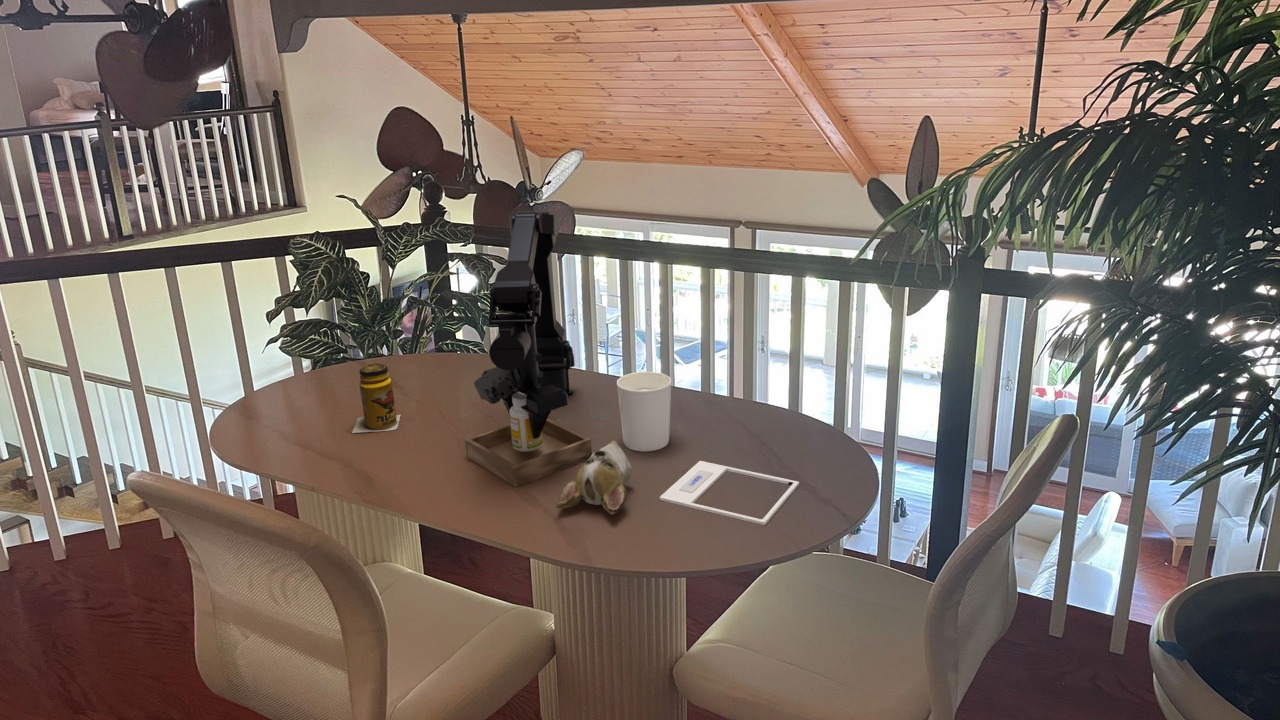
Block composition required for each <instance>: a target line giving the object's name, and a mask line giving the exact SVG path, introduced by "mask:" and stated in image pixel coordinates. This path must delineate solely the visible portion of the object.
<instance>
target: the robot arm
mask: <svg viewBox="0 0 1280 720" xmlns="http://www.w3.org/2000/svg"><path fill="white" fill-rule="evenodd" d="M559 228H560V227H559V219H558V216H556V215H555V214H552V212H551V211H550V210H548V211H547V210H546V211H542V210H541V211H517V212H515V213H512V215H510V216H509V231H510V236H511V237H510V244H509V248H508V255H507V259H506V262H505V263H506V264H505V266H503V267H502V268H500V270H498V271H497V273H496V275H495V279H494V282H493V284H492V285H491V286H490V294H489V309H488V310H489V311H488V325H489V326H494V325H495V326H498V327H497V328H498V332H497V335H496V336H495V338H494V339H493V341H492V343H491V345H490V347H489V351H488V353H489V358H490V360H491V362H492V364H493V365H495V367H493V368H489V369H485V370H484V371H483V372H482V374H481V376H480V377H478V378H477V379H476V380H475V381H474V382H473V386H474V387H475V389H476V391H477V393H478V396H479V397H480V399H481V400H485V401H486V402H488V403H489V404H492V405H494V404H497V403H498V402H500V401H502V402H503V404H504V407H505V408H506V411H507V414H508V416H509V417H510V408H511V407H512V406H513V403H512V395H513V394H515V393H517V392H518V393H520V394H522V395H527V397H526V404H527V405H524V406H521V408H522V409H523V410H525V411H526V412H527V413H528V416H529V421H530V426H531V431H532V435H533V438H534V439H536V438H539V437H540V434H541V432H542V430H543V427H544V425H545V423H546V420H547V418H548V419H549V415H550V414H551V411H554V410H556V409H559V408H562V407H563V408H564V407H566V406H568V404H569V397H568V396H571V395H573V394H575V391H574V390H573V389H571V388H570V378H569V370H571V368H574V367H575V355H574V351H573V347H572V346H571V344H570V341H569V340H567V335H566V334H567V333H566V329H565V328H564V327H563V326H562V325H561V323H559V321H558V319H557V314H556V304H555V293H554V292H555V291H554V283H553V273H552V265H551V262H552V261H551V253H552V251H553V249H554V246H555V244H556V241H557V236H559ZM497 311H498V312H499V313H497Z"/></svg>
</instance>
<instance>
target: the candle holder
mask: <svg viewBox="0 0 1280 720" xmlns="http://www.w3.org/2000/svg"><path fill="white" fill-rule="evenodd" d="M672 383H673V382H672V378H671V377H670V376H669V375H667V374H666V373H662V372H657V371H637V372H632V373H631V372H630V373H627V374H624V375H622V376H620V377H619V378H618V379H617V380H616V387H617V395H618V404H619V405H618V406H619V414H620V422H621V423H620V424H621V430H622V431H621V432H622V441H623V444H624V446H625V447H626V448H628V449H629V450H632V451H636V452H654V451H658V450H661V449H663V448H665V447H666V446H667V445H668V444H669V442H670V427H671V424H670V423H671V400H672V399H671V397H672Z"/></svg>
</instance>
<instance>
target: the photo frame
mask: <svg viewBox="0 0 1280 720" xmlns="http://www.w3.org/2000/svg"><path fill="white" fill-rule="evenodd" d="M726 472H729V473H734V474H738V475H743V476H749V477H754V478H758V479H761V480H762V479H763V480H767V481H772V482H775V483H776V482H777V483H782V484H786V485H789V483H790V484H791V485H790V486H789V487H788V489H786V491H785V492H784V493H783V495H781V497H780V498H779V499H778V501H777V502H776V503H775V504H774V505H773V506H772V507H771V509H770V510H769V511H768V512H767V513H766V514H765V516H764V517H763V518H762V519H761V518H757V517H753V516H748V515H746V514H745V515H744V514H739V513H736V512H731V511H727V510H724V509H718V508H716V507H711V506H707V505H702V504H698V503H695V502H696V501H697V500H699V499H700V498H701V497H702V495H704V494H705V492H706V491H708V490H709V489H710V487H712V486H713V485H714V484H715V483H716V482H717V481H718V480H719V479H720V478H721V477H722V476H723V475H724V474H725V473H726ZM799 485H800V481H797V480H791V479H787V478H783V477H778V476H773V475H770V474H765V473H760V472H755V471H754V472H753V471H749V470H746V469H739V468H738V467H737V468H736V467H732V466H726V465H721V464H717V463H712V462H708V461H704V460H699V461H697V463H695V464H694V465H693V466H692V467H691V468H690V469H689V470H688V471H687V472H686V473H685V474H684V475H683V476H681V477H680V478H679V479H678V480H676V481H675V482H674V483H673V484H672V485H671V486H670V487H669V488H668V489H667V490H666V491H665V492H663V493H662V494H661V495H660V496H659V501H662V502H665V503H666V502H667V503H670V504H674V505H679V506H682V507H687V508H691V509H695V510H699V511H704V512H707V513H712V514H716V515H720V516H724V517H729V518H733V519H737V520H741V521H745V522H749V523H753V524H757V525H761V526H766V524H767V523H768V522H770V520H771V518H772V517H773V516H774V515H775V513H777V512H778V510H779V509H780V508H781V507H782V506H783V504H784V503H785V502H786V501H787V500H788V498H789V497H791V495H792V493H793V492H794V491H795V490H796V489H797V488H798V486H799Z"/></svg>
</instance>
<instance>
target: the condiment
mask: <svg viewBox="0 0 1280 720" xmlns="http://www.w3.org/2000/svg"><path fill="white" fill-rule="evenodd" d="M359 375H360V376H359V379H360V381H359V390H360V398H361V403H362V405H361V406H362V410H363V411H362V412H363V416H362V417H357V419H356V422H355V424H354V428H353V429H352V432H351V434H359V433H368V432H371V433H373V432H388V431H396V430H397V429H398V426H399V424H400V420H401V414H397V413H396V412H397V411H396V404H395V397H394V390H393V382H392V379H391V378H390V373H389V368H388V366H387V365H386V364H383V363H369V364H366V365H363V366H362V367H360V369H359Z"/></svg>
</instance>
